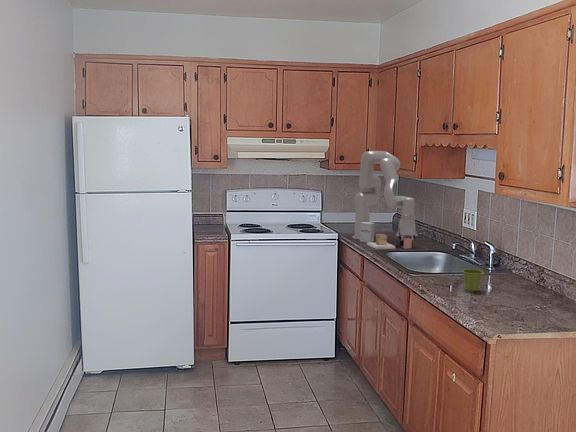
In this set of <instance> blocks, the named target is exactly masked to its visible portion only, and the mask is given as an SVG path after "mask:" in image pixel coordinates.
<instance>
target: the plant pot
mask: <svg viewBox="0 0 576 432" xmlns="http://www.w3.org/2000/svg"><path fill="white" fill-rule="evenodd" d="M461 272H462V275H463V282H464V290H466V291H467V292H479V290H480V285H481V281H482V277H483V274H484V271H483V270H480V269H474V268H472V269H471V268H467V269H466V268H463V269H461Z"/></svg>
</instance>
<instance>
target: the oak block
mask: <svg viewBox="0 0 576 432" xmlns="http://www.w3.org/2000/svg"><path fill="white" fill-rule="evenodd" d="M387 240H388V235H387V234H384V233H376V234H375V242H376V244H378V245H386V243H388V241H387Z"/></svg>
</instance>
